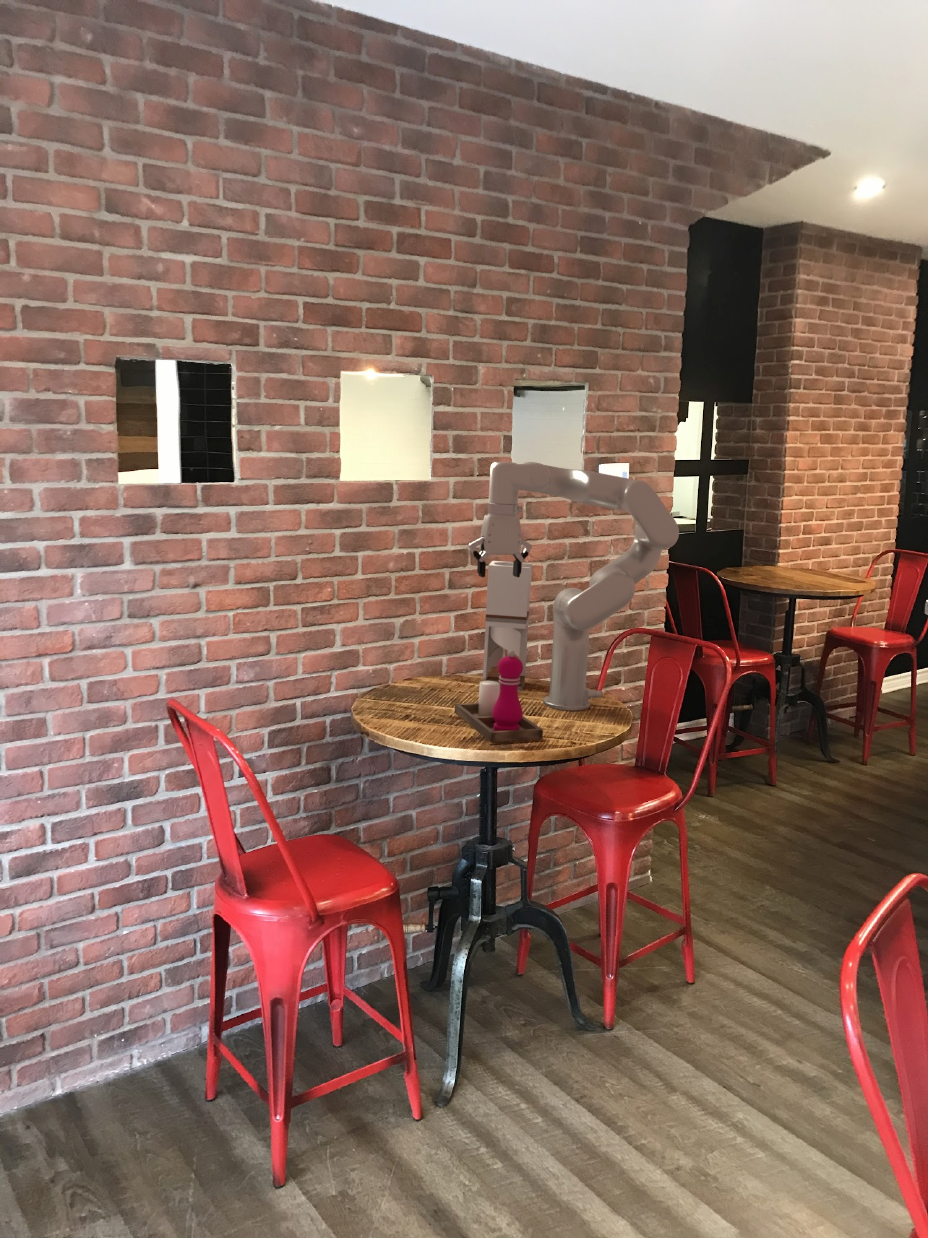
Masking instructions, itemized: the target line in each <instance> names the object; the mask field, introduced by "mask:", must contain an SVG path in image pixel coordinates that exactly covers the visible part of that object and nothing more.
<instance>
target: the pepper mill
mask: <svg viewBox="0 0 928 1238" xmlns="http://www.w3.org/2000/svg"><path fill="white" fill-rule="evenodd" d="M507 655H508V656H506V657H503V658H502V659H501V660H500V661H499V663H498V667H497V668H498V672H499V673H500V675H501V676H499V678H500V679H499V682H500V687H501V688H500V690H499V697H498V699H497V701H496V703H495V705H494V708H493V712H492V716H493V718H494V720H495V721H496V723H494V727H493V731H507V730H520V725H519V724H518V723H519V722H520V721H521V719H522V717H523V716H524V715H523V714H524V713H523V707H522V704H521V701H520V698H519V694H518V692H519V691H518V684H519V683H520V677H519V675H520V674H521V673H522V671H523V664H522V662H521V660H520V659H518V658H517V657H514V655H515V652H514V651H513V650H509V651H508V653H507Z"/></svg>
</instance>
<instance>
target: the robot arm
mask: <svg viewBox="0 0 928 1238" xmlns="http://www.w3.org/2000/svg"><path fill="white" fill-rule="evenodd" d="M489 469H490V470H489V471H490V472H489V485H488V486H489V487H488V489H489V491H488V504H487V505H488V507H487V514H484V517H483V519H482V520H483V521H482V524H481V531H480V537H479V538H478V539H477V538H476V540H473V541H471V542H470V543H469V544H468V548H469V551H470V552H471V555H472V556H473V557H474V558H475V560H476V561H477V565H476V566H477V569H476V572H477V574H478V577H480V578H485V577H486V569H487V563H486V561H485V560H486V559H487V557H488V556H489V555H493V556H495V555H498V556H499V555H500V556H501V555H503V556H504V555H505V556H506V555H507V556H508V555H509V556H510V555H511V556H512V557H513V558H514V560H513V561H512V562H513V576H515V577H520V574H521V568H522V563H524V560H525V559H526V558H527V557H528V556H529V554H530V552H531V550H532V548H533V545H532V543H529V542H528V541H526V540H525V539H523V538H522V530H521V529H522V528H521V521H520V520H521V519H520V516H519V513H520V512H523V506H519V491H523V492H524V491H525V492H530V493H540V494H543V495H544V494H545V495H550V496H554V497H560V498H564V499H566V500H569V501H572V502H575V503H579V504H584V505H590V506H595V507H599V508H601V507H602V508H606V509H611V510H616V511H621V512H627V513H630V515H631V516H632V518H633V519H634V521H635V523H636V524H635V529H634V538H633V541H632V544H631V546H630V547H629V548H628V549H627V550H626V551H625V552H624V553H622V554H620V556H617V557H616V558H615V559H613V560H612V561H611V562H608V564H605V565H604V566H603V567H601V568H598V570H596V571H595V572H594V573H593V574H592V575H591V577H590V579H589V583H588V584H589V587H588V588H586V589H585V590H582V589H580V588H576V587H568V588H567V587H566V588H564V589H563V590H561V591H559V592H558V594H557V595H556V597H555V599H554V601H553V606H552V623H553V630H552V632H553V635H552V646H551V647H552V649H551V650H552V651H551V663H550V678H549V679H550V680H549V692H548V693H549V694H548V695H546V696H545V697H543V699H542V703H543V705H545V706H546V707H548V708H551V709H555V710H561V711H582V710H587V709H589V708H590V706H591V701H590V700H591V699H592V698H593V699H601V697H602V696H603V695H602V691H601V690H593V689H588V688H586V687H587V686H586V684H587V670H588V660H589V659H588V658H589V657H588V656H589V646H590V645H589V644H590V629H592V628H595V627H596V626H597V625H600V624H601V623H603V622H604V621H606V620H607V619H609V618H610V617H611V616H613V615H614V614H616V613H618V612H619V611H621V610H622V609H624V608H625V607H626V606H627V605H628V604H629V603H630V602H631V601H632V599H633V598H634V596H635V592H636V585H637V584H638V583H640V582H641V581H642V580H643V579H645V578H646V577H647V576H649V575H650V574H651V573H652V572H653V571H654V570H655V568H656V567H657V565H658V563H659V561H660V559H661V555H662V551H663V550H667V549H670V548H672V547H673V546H674V545H676V543H677V541H678V539H679V535H680V531H679V530H680V529H679V526H678V523H677V521H676V520H675V518H674V516H673V515H672V514H671V513H670V510H668V508H667V507H666V505H665V504H664V502H663V500H662V499H661V498H660V496H659V495H658V494H657V492H656V491H655V489H654V488H653V487H652V486H651V485H650V484H649V483H648V482H646V481H644V480H639V479H638V480H637V479H633V478H626V477H622V476H618V475H617V476H616V475H611V474H607V473H602V472H596V471H592V470H585V469H570V468H565V467H558V466H552V465H547V464H542V463H540V462H533V461H526V462H523V463H517V462H512V461H511V462H510V461H494V462H493V463H491V464H490V468H489ZM478 546H479V551H480V552H479V551H478V550H477V547H478ZM522 546H523V547H524V549H523V551H521V548H522Z"/></svg>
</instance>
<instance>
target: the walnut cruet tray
mask: <svg viewBox="0 0 928 1238" xmlns="http://www.w3.org/2000/svg"><path fill="white" fill-rule="evenodd" d="M478 706H479V702H470V703H455V704H454V713H455V714H456V715H457V717H459V718H460V719H462V721H464V722H465V723H466V724H467V725H469V726H470V727H472V728H473V730H475V731H476V732H478V733H479V734H480V735H481V736H482V737H484V738H485V739H486V740H487V741H489V742H490V743H491V744H489V745H490V746H503V745H514V744H513V743H514V741H516V742H518V741H521V742H519V743H520V744H530V743H529V742H530V741H534V740H537V741H535V743H539V742H538V740H543V736H544V735H543V732H544V729H543V728H541V727H540V726H538V725H536V723H534V722H533V721H532V720H530V719H528V718H527V717H525V716H524V715H523V717H522V719H521V721H520V722H519V723H518V724H519V725H520V730H507V731H493V727H494V723H496V721H495V720H494V718H493V716H484V717H478ZM523 741H525V742H523ZM500 742H505V743H500ZM507 742H508V743H507ZM501 744H503V745H501Z"/></svg>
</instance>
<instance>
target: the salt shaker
mask: <svg viewBox="0 0 928 1238" xmlns="http://www.w3.org/2000/svg"><path fill="white" fill-rule="evenodd" d="M499 694H500V683H499V682H495V681H481V680H480V681H479V687H478V703H479V706H478V717H484V716H492V712H493V708H494V705H495V703H496V701H497V699H498V697H499Z"/></svg>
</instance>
